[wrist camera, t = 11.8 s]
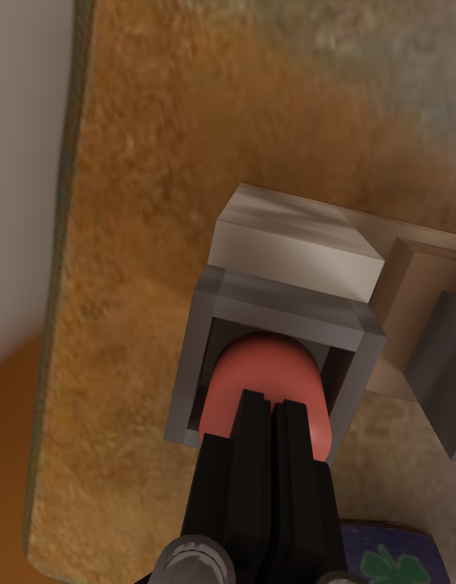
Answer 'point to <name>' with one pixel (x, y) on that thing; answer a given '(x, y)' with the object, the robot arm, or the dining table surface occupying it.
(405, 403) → the dining table surface
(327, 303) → the rail
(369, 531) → the flask
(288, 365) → the red dome button
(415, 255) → the carriage
